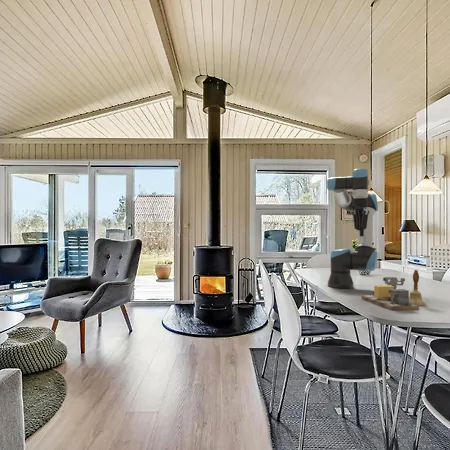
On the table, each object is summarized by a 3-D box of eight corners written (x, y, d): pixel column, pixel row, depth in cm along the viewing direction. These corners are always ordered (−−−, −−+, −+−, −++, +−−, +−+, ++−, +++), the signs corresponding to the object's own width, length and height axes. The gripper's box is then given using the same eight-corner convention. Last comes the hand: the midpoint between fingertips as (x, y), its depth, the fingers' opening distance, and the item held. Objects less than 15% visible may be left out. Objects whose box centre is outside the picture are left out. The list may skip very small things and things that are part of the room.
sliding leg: (374, 297, 159) (374, 285, 159) (389, 296, 160) (389, 285, 160) (378, 298, 155) (378, 286, 156) (394, 298, 156) (393, 286, 157)
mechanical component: (405, 297, 170) (405, 278, 170) (384, 296, 172) (384, 277, 172) (403, 296, 173) (403, 277, 173) (382, 295, 175) (382, 276, 175)
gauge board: (361, 298, 167) (361, 283, 167) (385, 298, 168) (385, 282, 168) (391, 310, 143) (391, 291, 143) (418, 309, 144) (418, 291, 145)
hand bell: (419, 301, 160) (419, 269, 160) (429, 305, 152) (429, 271, 152) (402, 301, 160) (402, 269, 161) (411, 305, 152) (411, 271, 152)
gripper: (347, 199, 180) (347, 242, 179) (360, 196, 167) (360, 243, 166) (360, 199, 181) (360, 242, 180) (373, 197, 168) (374, 243, 167)
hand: (360, 242), depth 173 cm, fingers closed
